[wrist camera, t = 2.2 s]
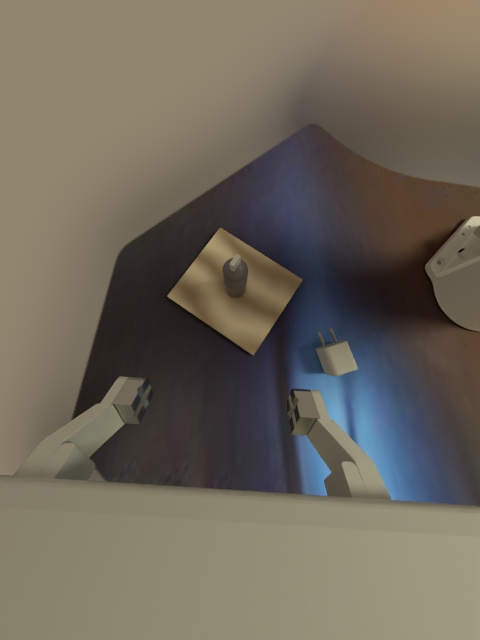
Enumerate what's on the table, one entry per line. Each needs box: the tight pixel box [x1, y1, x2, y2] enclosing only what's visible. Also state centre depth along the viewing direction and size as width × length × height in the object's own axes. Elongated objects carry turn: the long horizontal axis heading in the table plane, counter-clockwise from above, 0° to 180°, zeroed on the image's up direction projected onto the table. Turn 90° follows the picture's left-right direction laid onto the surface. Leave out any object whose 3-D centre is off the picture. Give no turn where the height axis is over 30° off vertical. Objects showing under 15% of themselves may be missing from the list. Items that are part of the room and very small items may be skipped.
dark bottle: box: [222, 254, 248, 298], centre depth 28 cm, size 4×4×10 cm
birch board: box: [167, 228, 303, 355], centre depth 33 cm, size 16×18×1 cm
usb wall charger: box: [316, 328, 358, 376], centre depth 30 cm, size 4×7×4 cm, turn 18°
